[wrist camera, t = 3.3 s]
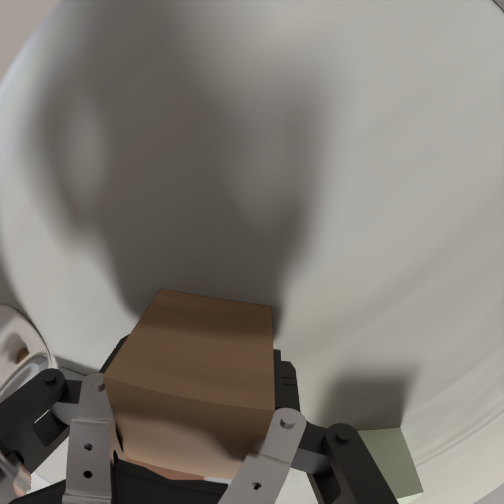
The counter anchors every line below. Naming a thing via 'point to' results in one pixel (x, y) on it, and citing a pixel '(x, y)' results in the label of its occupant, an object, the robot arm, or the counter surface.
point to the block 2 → (394, 462)
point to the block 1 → (194, 383)
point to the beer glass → (19, 351)
